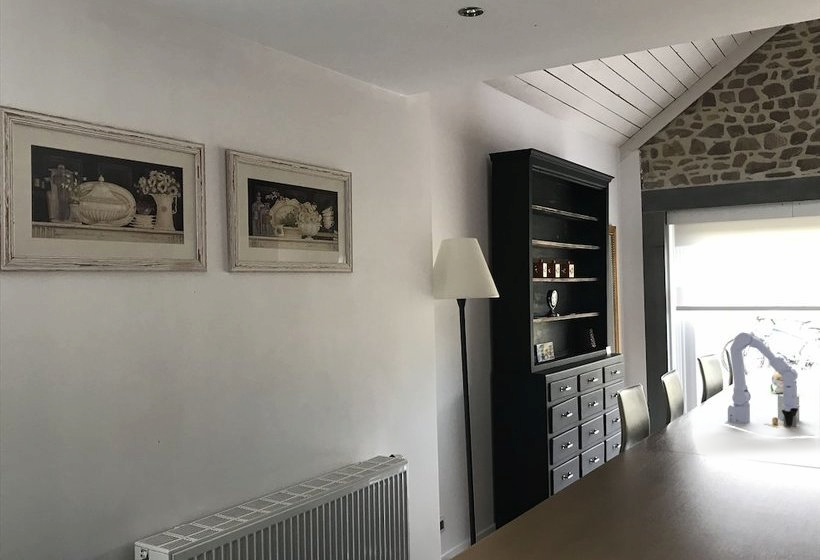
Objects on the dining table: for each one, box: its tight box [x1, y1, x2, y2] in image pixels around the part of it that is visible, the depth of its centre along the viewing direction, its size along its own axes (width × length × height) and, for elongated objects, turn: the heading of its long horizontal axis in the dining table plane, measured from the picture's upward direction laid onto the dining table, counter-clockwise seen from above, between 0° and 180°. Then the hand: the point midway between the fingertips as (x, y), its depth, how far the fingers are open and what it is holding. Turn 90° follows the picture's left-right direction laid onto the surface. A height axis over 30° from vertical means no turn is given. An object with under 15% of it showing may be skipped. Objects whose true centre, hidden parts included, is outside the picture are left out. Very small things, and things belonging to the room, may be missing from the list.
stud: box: [771, 416, 779, 425], centre depth 357 cm, size 2×2×4 cm
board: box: [764, 422, 802, 429], centre depth 354 cm, size 13×10×1 cm
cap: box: [783, 416, 798, 428], centre depth 353 cm, size 5×5×4 cm
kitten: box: [770, 370, 783, 394], centre depth 460 cm, size 15×10×15 cm
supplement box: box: [777, 394, 800, 422], centre depth 370 cm, size 7×7×13 cm
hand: (790, 424), depth 353 cm, fingers closed on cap, 5 cm apart
